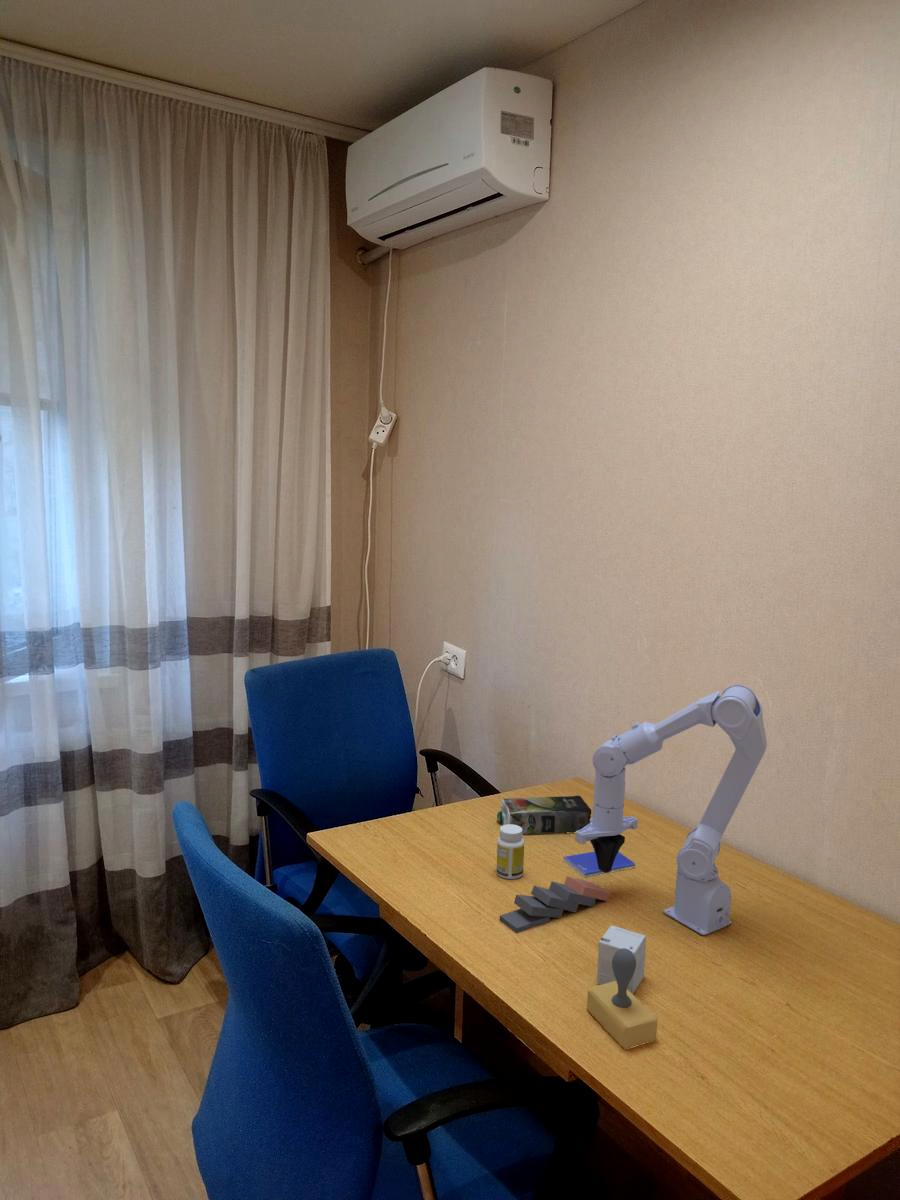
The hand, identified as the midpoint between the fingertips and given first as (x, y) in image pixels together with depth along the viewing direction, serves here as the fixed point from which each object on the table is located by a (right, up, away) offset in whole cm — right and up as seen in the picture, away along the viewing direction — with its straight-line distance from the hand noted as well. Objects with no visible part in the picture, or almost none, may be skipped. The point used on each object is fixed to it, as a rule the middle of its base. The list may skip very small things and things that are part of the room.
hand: (604, 870), depth 162 cm
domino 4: (-4, -4, -2) cm, 6 cm away
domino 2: (-13, -6, -8) cm, 16 cm away
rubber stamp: (-5, -11, -38) cm, 40 cm away
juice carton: (-8, 0, +32) cm, 33 cm away
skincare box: (-2, -9, -27) cm, 29 cm away
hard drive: (+1, -4, +13) cm, 14 cm away
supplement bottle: (-18, -3, +8) cm, 20 cm away
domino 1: (-11, -5, -6) cm, 13 cm away
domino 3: (-8, -5, -4) cm, 10 cm away
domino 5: (-1, -4, 0) cm, 4 cm away
